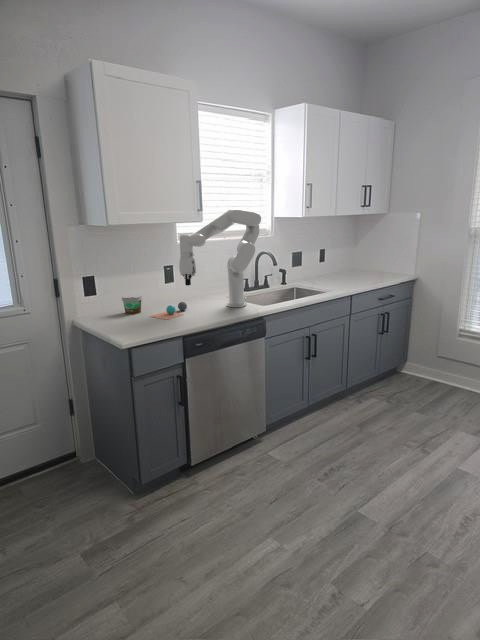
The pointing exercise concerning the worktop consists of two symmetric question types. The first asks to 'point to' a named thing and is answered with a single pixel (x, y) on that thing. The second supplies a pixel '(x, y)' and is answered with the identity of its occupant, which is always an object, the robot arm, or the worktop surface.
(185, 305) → the grey ball
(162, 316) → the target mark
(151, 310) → the worktop surface
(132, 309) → the food container
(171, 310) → the object ball
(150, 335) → the worktop surface
